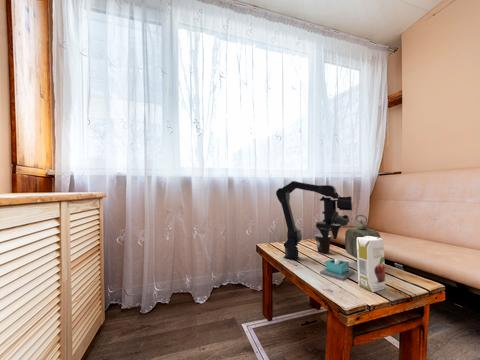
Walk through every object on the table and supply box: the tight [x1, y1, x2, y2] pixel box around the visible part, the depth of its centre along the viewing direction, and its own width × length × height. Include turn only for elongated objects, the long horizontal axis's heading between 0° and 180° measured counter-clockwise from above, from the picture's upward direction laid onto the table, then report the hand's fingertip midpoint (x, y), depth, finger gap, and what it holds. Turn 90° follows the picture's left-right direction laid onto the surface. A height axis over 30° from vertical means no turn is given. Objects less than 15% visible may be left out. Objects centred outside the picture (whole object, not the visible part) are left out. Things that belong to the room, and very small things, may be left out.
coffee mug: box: [314, 233, 332, 255], centre depth 130 cm, size 12×9×10 cm
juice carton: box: [356, 236, 386, 293], centre depth 83 cm, size 8×9×19 cm
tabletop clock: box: [344, 214, 381, 259], centre depth 107 cm, size 14×9×25 cm, turn 14°
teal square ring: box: [325, 258, 350, 275], centre depth 96 cm, size 7×7×4 cm
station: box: [320, 258, 355, 281], centre depth 96 cm, size 10×12×6 cm
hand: (330, 240), depth 108 cm, fingers open, 9 cm apart
